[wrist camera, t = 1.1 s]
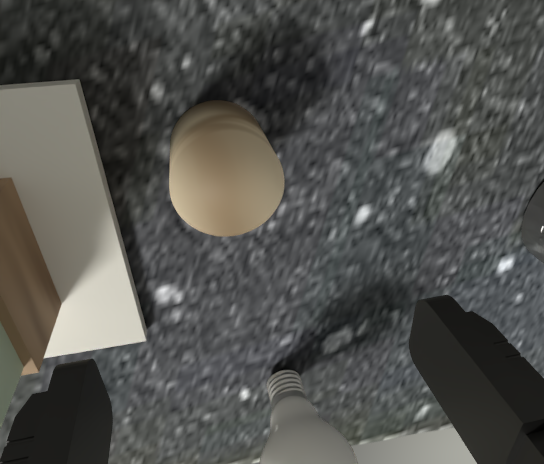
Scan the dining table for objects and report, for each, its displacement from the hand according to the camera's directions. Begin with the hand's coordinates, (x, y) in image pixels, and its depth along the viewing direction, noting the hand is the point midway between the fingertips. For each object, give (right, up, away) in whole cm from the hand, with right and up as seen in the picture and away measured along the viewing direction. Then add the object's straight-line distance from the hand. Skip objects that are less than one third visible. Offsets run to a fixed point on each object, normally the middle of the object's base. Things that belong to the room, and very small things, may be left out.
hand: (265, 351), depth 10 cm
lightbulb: (+1, -8, +23) cm, 24 cm away
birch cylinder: (-3, +8, +12) cm, 14 cm away
